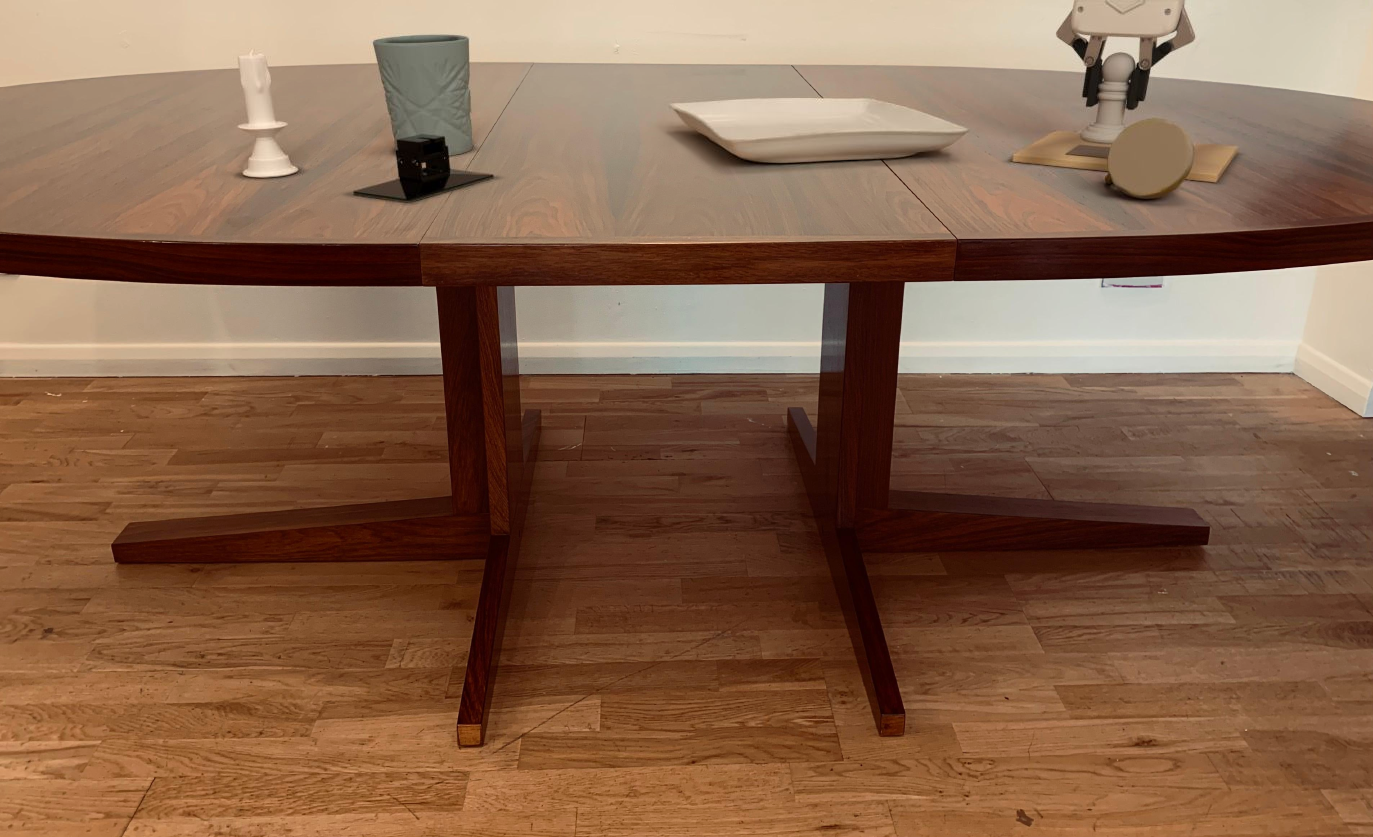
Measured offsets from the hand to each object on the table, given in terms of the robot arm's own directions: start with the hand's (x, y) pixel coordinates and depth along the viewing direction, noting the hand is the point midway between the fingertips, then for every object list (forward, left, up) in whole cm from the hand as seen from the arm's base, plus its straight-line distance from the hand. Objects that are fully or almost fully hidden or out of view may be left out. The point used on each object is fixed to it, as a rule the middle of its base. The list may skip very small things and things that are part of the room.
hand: (1112, 105), depth 107 cm
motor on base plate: (+53, +48, -6) cm, 72 cm away
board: (-2, -3, -6) cm, 7 cm away
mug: (-7, +14, -6) cm, 17 cm away
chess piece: (0, 0, -4) cm, 4 cm away
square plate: (+31, +9, -6) cm, 33 cm away
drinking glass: (+66, +34, -6) cm, 75 cm away
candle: (+71, +52, -6) cm, 88 cm away
